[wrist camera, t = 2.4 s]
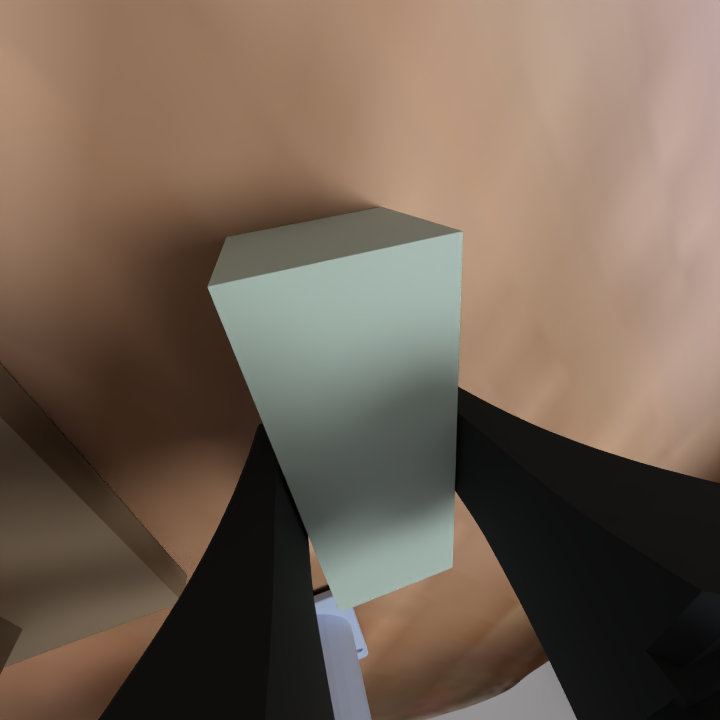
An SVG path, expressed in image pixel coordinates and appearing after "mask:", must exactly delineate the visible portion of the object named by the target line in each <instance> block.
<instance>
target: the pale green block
mask: <svg viewBox="0 0 720 720" xmlns="http://www.w3.org/2000/svg"><path fill="white" fill-rule="evenodd" d="M462 242H463V231H460V230H457V229H454V228H450V227H447V226H444V225H440V224H437V223H434V222H430V221H427V220H424V219H420V218H417V217H414V216H410V215H407V214H404V213H400V212H397V211H394V210H390V209H387V208H384V207H378V208H373V209H368V210H363V211H358V212H352V213H347V214H342V215H337V216H332V217H327V218H322V219H317V220H311V221H306V222H301V223H296V224H291V225H286V226H281V227H276V228H270V229H265V230H260V231H255V232H250V233H245V234H240V235H235V236H229V237H226V240H225V242H224V245H223V247H222V250H221V253H220V255H219V258H218V260H217V263H216V266H215V268H214V271H213V273H212V276H211V279H210V281H209V284H208V289H209V292H210V294H211V297H212V299H213V302H214V304H215V307H216V309H217V312H218V314H219V317H220V319H221V321H222V324H223V326H224V329H225V331H226V334H227V336H228V339H229V341H230V344H231V346H232V349H233V351H234V353H235V356H236V358H237V361H238V363H239V366H240V368H241V371H242V373H243V376H244V378H245V381H246V383H247V385H248V388H249V390H250V393H251V395H252V398H253V400H254V403H255V405H256V408H257V410H258V413H259V415H260V417H261V420H262V422H263V425H264V427H265V430H266V432H267V435H268V437H269V440H270V442H271V444H272V447H273V449H274V452H275V454H276V457H277V459H278V462H279V464H280V467H281V469H282V472H283V474H284V476H285V479H286V481H287V484H288V486H289V489H290V491H291V494H292V496H293V499H294V501H295V504H296V506H297V508H298V511H299V513H300V516H301V518H302V521H303V523H304V526H305V528H306V531H307V533H308V536H309V538H310V540H311V543H312V545H313V548H314V550H315V553H316V555H317V558H318V560H319V563H320V565H321V568H322V570H323V572H324V575H325V577H326V580H327V582H328V585H329V587H330V590H331V592H332V595H333V597H334V600H335V602H336V604H337V607H338V609H339V612H342V611H345V610H347V609H350V608H352V607H355V606H357V605H360V604H362V603H365V602H367V601H370V600H372V599H375V598H377V597H380V596H382V595H385V594H387V593H390V592H392V591H395V590H397V589H400V588H402V587H405V586H407V585H410V584H412V583H415V582H417V581H420V580H422V579H425V578H427V577H430V576H432V575H435V574H437V573H440V572H442V571H445V570H447V569H450V568H452V563H453V531H454V499H455V467H456V434H457V402H458V370H459V338H460V306H461V274H462Z"/></svg>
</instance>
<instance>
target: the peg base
mask: <svg viewBox="0 0 720 720" xmlns="http://www.w3.org/2000/svg"><path fill="white" fill-rule="evenodd" d="M186 579H187V575H186V574H185V573H184V572H183V571H182V569H181V568H180V567H179V566H178V565H177V564H176V563H175V561H174V560H173V559H172V558H171V557H170V556H169V555H168V554H167V552H166V551H165V550H164V549H163V548H162V547H161V546H160V544H159V543H158V542H157V541H156V540H155V539H154V538H153V536H152V535H151V534H150V533H149V532H148V531H147V530H146V529H145V527H144V526H143V525H142V524H141V523H140V522H139V521H138V519H137V518H136V517H135V516H134V515H133V514H132V513H131V511H130V510H129V509H128V508H127V507H126V506H125V505H124V504H123V502H122V501H121V500H120V499H119V498H118V497H117V496H116V494H115V493H114V492H113V491H112V490H111V489H110V488H109V486H108V485H107V484H106V483H105V482H104V481H103V480H102V479H101V477H100V476H99V475H98V474H97V473H96V472H95V471H94V469H93V468H92V467H91V466H90V465H89V464H88V463H87V462H86V460H85V459H84V458H83V457H82V456H81V455H80V454H79V452H78V451H77V450H76V449H75V448H74V447H73V446H72V444H71V443H70V442H69V441H68V440H67V439H66V438H65V437H64V435H63V434H62V433H61V432H60V431H59V430H58V429H57V427H56V426H55V425H54V424H53V423H52V422H51V421H50V419H49V418H48V417H47V416H46V415H45V414H44V413H43V412H42V410H41V409H40V408H39V407H38V406H37V405H36V404H35V402H34V401H33V400H32V399H31V398H30V397H29V396H28V394H27V393H26V392H25V391H24V390H23V389H22V388H21V387H20V385H19V384H18V383H17V382H16V381H15V380H14V379H13V377H12V376H11V375H10V374H9V373H8V372H7V371H6V369H5V368H4V367H3V366H2V365H1V364H0V674H1V672H2V670H3V668H4V667H6V666H9V665H11V664H14V663H17V662H20V661H22V660H25V659H28V658H31V657H33V656H36V655H39V654H42V653H44V652H47V651H50V650H53V649H55V648H58V647H61V646H64V645H66V644H69V643H72V642H75V641H77V640H80V639H83V638H86V637H88V636H91V635H94V634H97V633H99V632H102V631H105V630H108V629H110V628H113V627H116V626H119V625H121V624H124V623H127V622H130V621H132V620H135V619H138V618H141V617H143V616H146V615H149V614H152V613H154V612H157V611H160V610H163V609H165V608H168V607H171V606H173V605H175V604H176V602H177V600H178V599H179V597H180V595H181V594H182V592H183V590H184V589H185V585H186Z"/></svg>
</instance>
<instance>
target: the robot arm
mask: <svg viewBox="0 0 720 720" xmlns="http://www.w3.org/2000/svg"><path fill="white" fill-rule="evenodd" d="M455 491H456V493H457V494H458V495H459V497H460V498H461V500H462V501H463V503H464V504H465V506H466V507H467V509H468V510H469V512H470V513H471V515H472V516H473V518H474V519H475V521H476V523H477V524H478V526H479V527H480V529H481V531H482V532H483V534H484V536H485V537H486V539H487V541H488V543H489V545H490V547H491V548H492V550H493V552H494V554H495V556H496V558H497V559H498V561H499V563H500V565H501V567H502V568H503V570H504V572H505V574H506V576H507V578H508V580H509V582H510V584H511V586H512V588H513V589H514V591H515V593H516V595H517V597H518V599H519V601H520V603H521V605H522V607H523V609H524V611H525V613H526V615H527V617H528V619H529V621H530V623H531V625H532V627H533V629H534V631H535V633H536V635H537V637H538V639H539V641H540V643H541V645H542V647H543V649H544V651H545V653H546V655H547V657H548V659H549V661H550V663H551V665H552V667H553V669H554V671H555V673H556V676H557V678H558V680H559V682H560V684H561V686H562V688H563V690H564V692H565V694H566V697H567V698H568V701H569V703H570V705H571V707H572V709H573V712H574V714H575V716H576V718H577V720H720V483H717V482H712V481H708V480H704V479H700V478H696V477H692V476H688V475H684V474H680V473H677V472H673V471H669V470H665V469H661V468H658V467H654V466H651V465H647V464H644V463H640V462H637V461H633V460H630V459H627V458H624V457H621V456H617V455H614V454H611V453H608V452H605V451H602V450H599V449H596V448H593V447H590V446H587V445H584V444H581V443H579V442H576V441H573V440H571V439H568V438H566V437H563V436H560V435H558V434H555V433H552V432H550V431H548V430H545V429H543V428H540V427H538V426H536V425H533V424H531V423H529V422H527V421H525V420H522V419H520V418H518V417H516V416H514V415H512V414H509V413H507V412H505V411H503V410H501V409H499V408H497V407H495V406H493V405H491V404H489V403H487V402H486V401H484V400H482V399H480V398H478V397H476V396H474V395H472V394H471V393H469V392H467V391H465V390H463V389H461V388H460V387H458V402H457V434H456V467H455ZM367 655H368V649H367V645H366V643H365V640H364V637H363V634H362V631H361V628H360V625H359V622H358V619H357V617H356V614H355V611H354V608H353V607H352V608H350V609H347V610H345V611H342V612H339V609H338V607H337V604H336V602H335V600H334V597H333V595H332V592H331V590H328V591H326V592H323V593H320V594H318V595H315V596H314V595H313V587H312V578H311V565H310V553H309V541H308V533H307V531H306V528H305V526H304V523H303V521H302V518H301V516H300V513H299V511H298V508H297V506H296V504H295V501H294V499H293V496H292V494H291V491H290V489H289V486H288V484H287V481H286V479H285V476H284V474H283V472H282V469H281V467H280V464H279V462H278V459H277V457H276V454H275V452H274V449H273V447H272V444H271V442H270V440H269V437H268V435H267V432H266V430H265V427H264V425H263V423H261V424H259V426H258V427H257V430H256V433H255V437H254V440H253V443H252V446H251V449H250V452H249V455H248V458H247V460H246V463H245V466H244V468H243V471H242V473H241V476H240V478H239V481H238V483H237V486H236V488H235V491H234V493H233V495H232V498H231V500H230V502H229V504H228V506H227V509H226V511H225V513H224V515H223V517H222V519H221V522H220V524H219V526H218V528H217V530H216V532H215V534H214V536H213V538H212V540H211V542H210V544H209V546H208V548H207V550H206V551H205V553H204V555H203V557H202V559H201V561H200V562H199V564H198V566H197V568H196V570H195V571H194V573H193V575H192V577H191V578H190V580H189V582H188V584H187V585H186V587H185V589H184V590H183V592H182V594H181V595H180V597H179V599H178V600H177V602H176V604H175V605H174V607H173V609H172V610H171V612H170V614H169V615H168V617H167V618H166V620H165V622H164V623H163V625H162V626H161V628H160V629H159V631H158V633H157V634H156V636H155V637H154V639H153V640H152V642H151V643H150V645H149V646H148V648H147V649H146V651H145V652H144V654H143V655H142V657H141V658H140V660H139V661H138V662H137V664H136V665H135V667H134V668H133V670H132V671H131V673H130V674H129V676H128V677H127V679H126V680H125V682H124V683H123V684H122V686H121V687H120V689H119V690H118V692H117V693H116V695H115V696H114V698H113V699H112V701H111V702H110V704H109V705H108V707H107V708H106V709H105V711H104V712H103V714H102V715H101V716H100V718H99V719H98V720H371V715H370V711H369V706H368V701H367V697H366V692H365V688H364V683H363V678H362V674H361V669H360V664H359V660H360V659H362V658H364V657H366V656H367Z"/></svg>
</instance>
